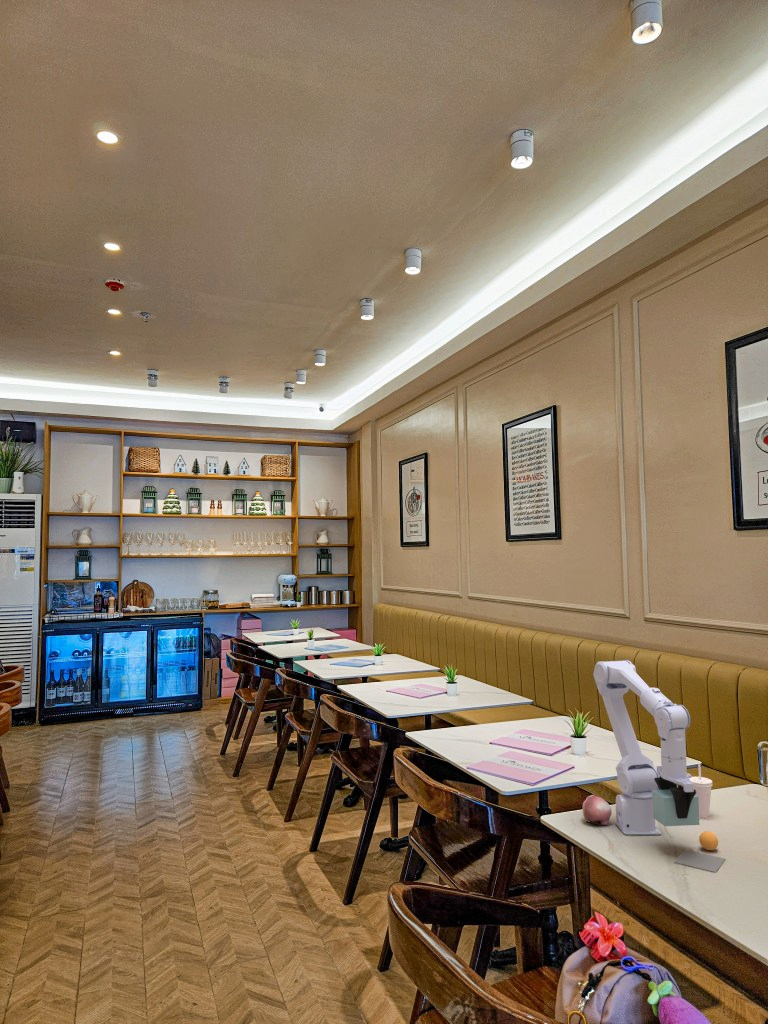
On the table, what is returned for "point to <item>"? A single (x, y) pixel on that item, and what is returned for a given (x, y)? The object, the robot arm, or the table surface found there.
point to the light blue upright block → (672, 809)
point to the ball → (708, 840)
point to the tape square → (700, 860)
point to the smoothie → (702, 793)
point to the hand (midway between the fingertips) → (675, 813)
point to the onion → (596, 810)
